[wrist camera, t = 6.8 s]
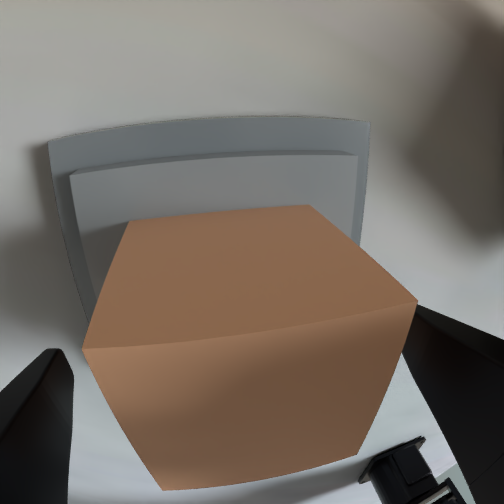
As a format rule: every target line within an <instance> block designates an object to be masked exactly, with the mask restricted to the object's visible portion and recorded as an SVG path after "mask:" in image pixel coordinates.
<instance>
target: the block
mask: <svg viewBox="0 0 504 504" xmlns="http://www.w3.org/2000/svg"><path fill="white" fill-rule="evenodd" d="M417 302H418V300H417V299H416V298H415V297H414V296H413V295H412V294H411V293H410V292H409V291H408V290H407V289H405V288H404V287H403V286H402V285H401V284H400V283H399V282H398V281H397V280H396V279H395V278H394V277H393V276H391V275H390V274H389V273H388V272H387V271H386V270H385V269H384V268H383V267H382V266H380V265H379V264H378V263H377V262H376V261H375V260H374V259H373V258H372V257H370V256H369V255H368V254H367V253H366V252H365V251H364V250H363V249H361V248H360V247H359V246H358V245H357V244H356V243H355V242H353V241H352V240H351V239H350V238H349V237H348V236H346V235H345V234H344V233H343V232H342V231H341V230H339V229H338V228H337V227H336V226H335V225H333V224H332V223H331V222H330V221H329V220H328V219H326V218H325V217H324V216H323V215H322V214H320V213H319V212H318V211H317V210H315V209H314V208H313V207H312V206H311V205H309V204H308V205H293V206H279V207H266V208H253V209H241V210H230V211H219V212H208V213H198V214H188V215H178V216H169V217H160V218H151V219H142V220H134V221H129V223H128V225H127V227H126V230H125V232H124V234H123V237H122V239H121V241H120V244H119V246H118V249H117V251H116V253H115V256H114V258H113V261H112V263H111V266H110V268H109V271H108V274H107V276H106V279H105V281H104V284H103V287H102V290H101V292H100V295H99V298H98V301H97V303H96V306H95V309H94V312H93V315H92V318H91V321H90V324H89V327H88V330H87V333H86V336H85V340H84V343H83V346H82V351H83V353H84V356H85V358H86V360H87V362H88V364H89V367H90V369H91V371H92V373H93V375H94V377H95V379H96V381H97V383H98V385H99V387H100V389H101V391H102V393H103V395H104V397H105V399H106V401H107V403H108V405H109V407H110V409H111V410H112V412H113V414H114V416H115V418H116V419H117V421H118V423H119V425H120V426H121V428H122V430H123V431H124V433H125V435H126V437H127V438H128V440H129V441H130V443H131V445H132V446H133V448H134V449H135V451H136V453H137V454H138V456H139V457H140V459H141V460H142V462H143V463H144V465H145V466H146V468H147V469H148V471H149V472H150V474H151V475H152V477H153V478H154V479H155V481H156V482H157V484H158V485H159V486H160V488H161V489H162V491H166V490H185V489H198V488H208V487H217V486H226V485H233V484H240V483H246V482H252V481H258V480H263V479H268V478H273V477H278V476H283V475H287V474H291V473H295V472H300V471H304V470H307V469H311V468H315V467H319V466H322V465H326V464H329V463H332V462H336V461H339V460H342V459H345V458H348V457H351V456H354V455H357V453H358V451H359V449H360V447H361V446H362V444H363V442H364V440H365V438H366V435H367V433H368V431H369V429H370V427H371V425H372V423H373V421H374V419H375V416H376V414H377V412H378V410H379V408H380V405H381V403H382V401H383V398H384V396H385V394H386V391H387V389H388V386H389V384H390V381H391V379H392V376H393V374H394V371H395V369H396V366H397V363H398V360H399V358H400V355H401V352H402V349H403V347H404V344H405V341H406V338H407V335H408V332H409V329H410V326H411V322H412V319H413V316H414V313H415V309H416V306H417Z"/></svg>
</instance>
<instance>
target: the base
mask: <svg viewBox="0 0 504 504" xmlns="http://www.w3.org/2000/svg"><path fill="white" fill-rule="evenodd" d="M369 141H370V122H366V121H359V120H351V119H339V118H323V117H298V116H239V117H214V118H198V119H184V120H173V121H163V122H153V123H145V124H137V125H129V126H122V127H115V128H109V129H103V130H97V131H91V132H86V133H80V134H75V135H70V136H65V137H62V138H58V139H55V140H51V141H48V150H49V158H50V166H51V173H52V180H53V186H54V192H55V198H56V203H57V208H58V213H59V218H60V223H61V228H62V232H63V236H64V241H65V245H66V249H67V253H68V257H69V261H70V264H71V268H72V272H73V275H74V279H75V282H76V285H77V289H78V292H79V295H80V298H81V301H82V305H83V308H84V311H85V314H86V317H87V319H88V322H89V324H90V321H91V318H92V315H93V312H94V309H95V306H96V303H97V301H98V298H99V295H100V292H101V290H102V287H103V284H104V281H105V279H106V276H107V274H108V271H109V268H110V266H111V263H112V261H113V258H114V256H115V253H116V251H117V249H118V246H119V244H120V241H121V239H122V237H123V234H124V232H125V230H126V227H127V225H128V223H129V221H134V220H142V219H151V218H160V217H169V216H178V215H188V214H198V213H208V212H219V211H230V210H241V209H253V208H266V207H279V206H293V205H308V204H309V205H311V206H312V207H313V208H314V209H315V210H317V211H318V212H319V213H320V214H322V215H323V216H324V217H325V218H326V219H328V220H329V221H330V222H331V223H332V224H333V225H335V226H336V227H337V228H338V229H339V230H341V231H342V232H343V233H344V234H345V235H346V236H348V237H349V238H350V239H351V240H352V241H353V242H355V243H356V244H357V245H358V246H360V238H361V230H362V222H363V213H364V204H365V194H366V183H367V171H368V157H369Z"/></svg>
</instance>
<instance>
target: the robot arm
mask: <svg viewBox="0 0 504 504" xmlns="http://www.w3.org/2000/svg"><path fill="white" fill-rule="evenodd" d="M402 354H403V356H404V359H405V361H406V363H407V365H408V368H409V370H410V372H411V374H412V377H413V379H414V380H415V382H416V384H417V386H418V388H419V390H420V391H421V393H422V395H423V397H424V399H425V401H426V402H427V404H428V406H429V408H430V410H431V412H432V414H433V415H434V417H435V419H436V421H437V423H438V425H439V427H440V429H441V431H442V433H443V435H444V437H445V439H446V441H447V443H448V445H449V447H450V449H451V451H452V453H453V455H454V457H455V459H456V461H457V463H458V465H459V467H460V469H461V471H462V473H463V476H464V478H465V480H466V482H467V484H468V486H469V489H470V491H471V494H472V496H473V498H474V501H475V503H476V504H504V340H503V339H501V338H498V337H496V336H493V335H491V334H489V333H486V332H484V331H481V330H479V329H477V328H474V327H472V326H469V325H467V324H464V323H462V322H460V321H457V320H455V319H452V318H450V317H447V316H445V315H443V314H440V313H438V312H435V311H433V310H430V309H428V308H425V307H423V306H420V305H418V304H417V306H416V309H415V313H414V316H413V319H412V322H411V326H410V329H409V332H408V335H407V338H406V341H405V344H404V347H403V349H402ZM73 391H74V375H73V371H72V369H71V367H70V365H69V363H68V361H67V359H66V357H65V355H64V353H63V351H62V350H61V349H59V348H50V349H46V350H45V351H43V352H42V353H41V354H40V355H39V356H38V357H37V358H36V359H35V360H34V361H32V362H31V363H30V364H29V365H28V366H27V367H26V368H25V369H24V370H23V371H22V372H21V373H20V374H18V375H17V376H16V377H15V378H14V379H13V380H12V381H11V382H10V383H9V384H8V385H7V386H6V387H5V388H4V389H3V390H2V391H1V392H0V504H67V500H68V476H69V461H70V450H71V440H72V425H73ZM425 440H426V439H425V437H421V438H419V439H417V440H415V441H412V442H410V443H408V444H406V445H404V446H401V447H399V448H397V449H394V450H392V451H389V452H387V453H385V454H382V455H379V456H377V457H375V458H374V459H372V461H371V462H370V464H369V465H368V467H367V468H366V470H365V471H364V473H363V474H362V476H361V477H360V479H359V480H358V482H359V484H363V483H365V482H368V481H371V482H372V484H373V486H374V488H375V490H376V492H377V494H378V496H379V498H380V500H381V502H382V504H426V503H427V502H429V501H431V500H432V499H434V498H435V497H437V496H438V495H440V494H442V493H443V492H444V491H446V490H447V489H448V491H449V493H447V494H446V495H444V496H442V497H441V498H439V499H438V500H436V501H435V502H433V503H432V504H466V502H465V501H464V499H463V498H462V496H461V495H460V493H459V492H458V490H457V488H456V487H455V485H454V484H453V482H452V481H451V479H450V478H449V477H448V478H447V479H445V481H444V482H442V483H441V484H438V483H437V481H436V479H435V478H434V476H433V474H432V471H431V469H430V468H429V466H428V464H427V463H426V461H425V459H424V458H423V456H422V454H421V453H420V451H419V449H420V447H421V446H422V445H423V443H424V442H425Z"/></svg>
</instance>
